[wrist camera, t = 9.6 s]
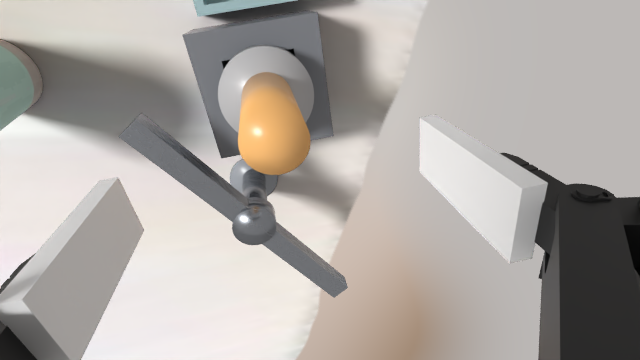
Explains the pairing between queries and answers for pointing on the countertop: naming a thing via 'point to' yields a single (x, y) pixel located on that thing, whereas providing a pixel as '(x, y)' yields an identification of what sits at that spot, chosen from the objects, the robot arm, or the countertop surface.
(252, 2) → the tray
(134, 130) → the grey lever handle
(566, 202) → the robot arm
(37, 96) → the coffee cup
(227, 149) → the socket block
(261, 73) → the tamper
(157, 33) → the countertop surface
